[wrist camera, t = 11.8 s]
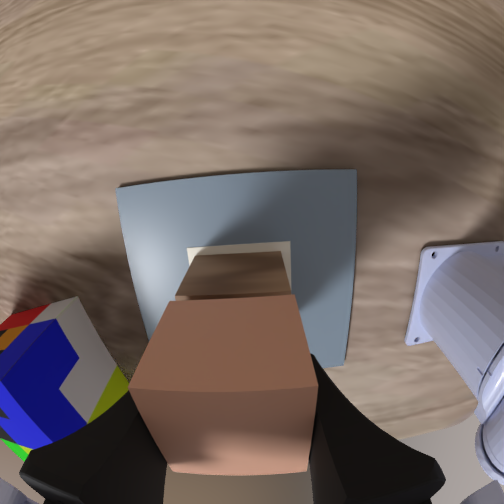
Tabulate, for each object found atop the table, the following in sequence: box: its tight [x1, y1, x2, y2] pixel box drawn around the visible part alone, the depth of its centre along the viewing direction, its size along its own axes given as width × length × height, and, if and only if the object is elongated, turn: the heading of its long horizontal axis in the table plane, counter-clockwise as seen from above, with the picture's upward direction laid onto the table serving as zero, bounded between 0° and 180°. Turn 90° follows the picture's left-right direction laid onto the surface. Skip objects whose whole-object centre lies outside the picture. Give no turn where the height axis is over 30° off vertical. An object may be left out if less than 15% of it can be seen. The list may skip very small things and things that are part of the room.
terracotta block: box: [128, 294, 318, 475], centre depth 10 cm, size 5×5×5 cm
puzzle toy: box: [0, 296, 129, 462], centre depth 16 cm, size 10×10×10 cm
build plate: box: [116, 169, 357, 368], centre depth 18 cm, size 14×14×1 cm
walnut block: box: [175, 251, 291, 301], centre depth 15 cm, size 5×5×5 cm
